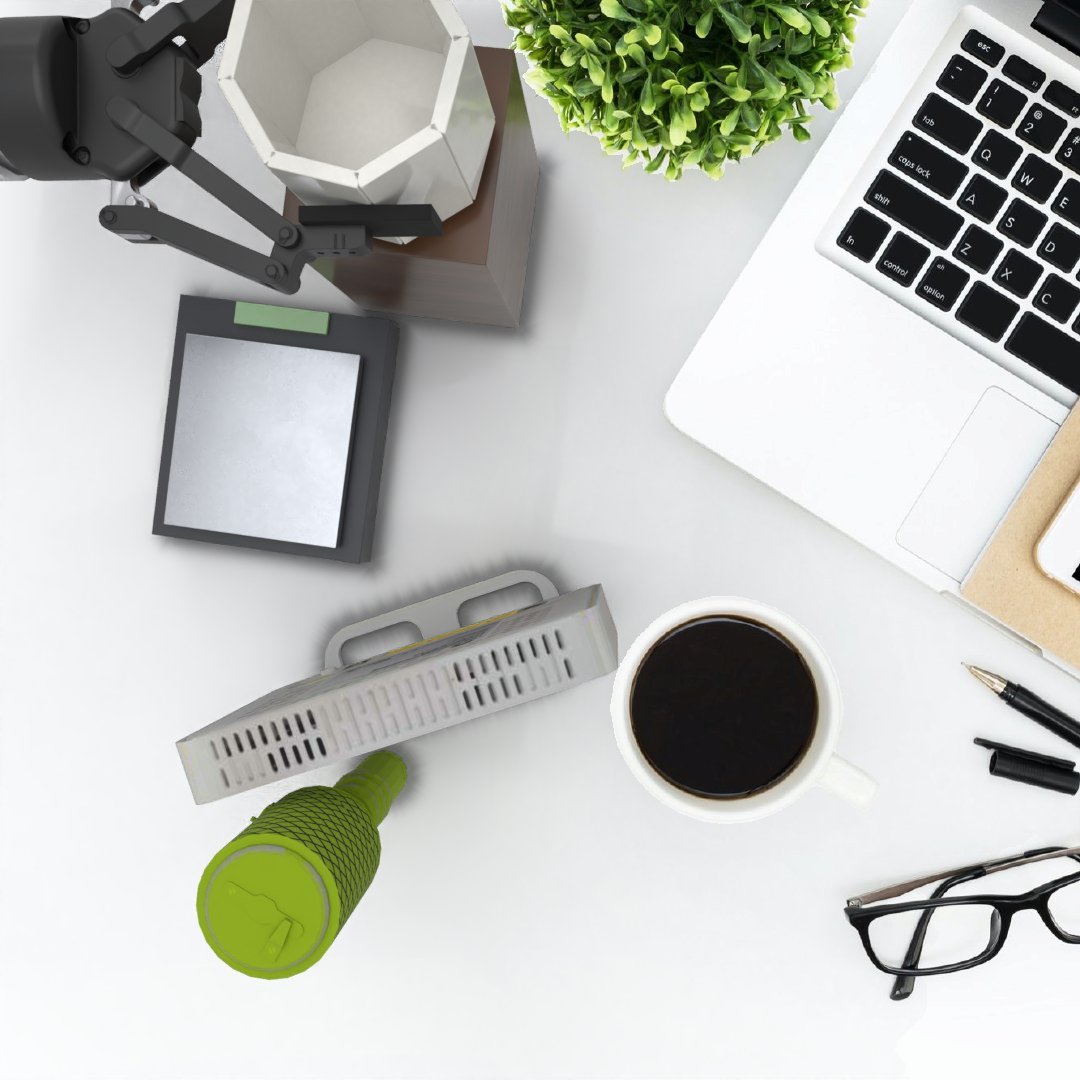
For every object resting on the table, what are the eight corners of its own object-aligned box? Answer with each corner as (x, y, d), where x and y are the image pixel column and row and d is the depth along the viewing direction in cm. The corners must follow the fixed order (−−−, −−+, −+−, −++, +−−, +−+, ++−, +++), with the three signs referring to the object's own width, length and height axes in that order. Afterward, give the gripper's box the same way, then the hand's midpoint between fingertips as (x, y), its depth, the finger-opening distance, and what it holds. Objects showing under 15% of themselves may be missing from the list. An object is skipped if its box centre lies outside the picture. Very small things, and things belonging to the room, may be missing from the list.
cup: (319, 16, 51) (256, -90, 42) (511, 60, 51) (488, -37, 42) (270, 212, 52) (198, 149, 43) (459, 259, 51) (426, 205, 42)
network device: (312, 755, 72) (198, 848, 52) (277, 649, 72) (148, 701, 52) (626, 655, 70) (631, 712, 50) (589, 545, 70) (580, 558, 50)
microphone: (450, 756, 71) (363, 887, 47) (402, 840, 72) (291, 1014, 47) (360, 703, 72) (226, 805, 47) (313, 787, 72) (156, 932, 47)
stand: (383, 151, 71) (305, 28, 53) (540, 168, 70) (514, 48, 52) (363, 309, 71) (278, 241, 53) (518, 328, 70) (485, 265, 52)
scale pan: (192, 335, 69) (186, 333, 68) (364, 357, 68) (360, 354, 67) (169, 523, 69) (163, 524, 68) (339, 548, 68) (335, 548, 67)
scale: (198, 302, 72) (177, 292, 69) (400, 327, 71) (389, 318, 67) (170, 533, 73) (148, 534, 69) (370, 562, 72) (358, 564, 68)
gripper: (59, -93, 51) (453, -109, 49) (61, 352, 51) (449, 352, 50) (-38, -197, 43) (424, -221, 41) (-34, 326, 44) (419, 324, 42)
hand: (438, 91), depth 46 cm, fingers closed on cup, 12 cm apart
